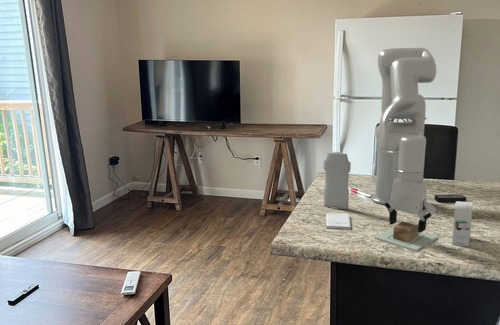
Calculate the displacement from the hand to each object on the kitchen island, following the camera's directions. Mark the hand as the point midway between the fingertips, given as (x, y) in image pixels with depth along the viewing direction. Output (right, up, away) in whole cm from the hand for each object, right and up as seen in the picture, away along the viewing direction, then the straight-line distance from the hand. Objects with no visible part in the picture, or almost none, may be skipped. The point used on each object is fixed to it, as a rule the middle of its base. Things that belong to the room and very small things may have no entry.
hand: (406, 227), depth 142 cm
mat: (0, -4, +1) cm, 4 cm away
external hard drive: (-19, -1, +16) cm, 25 cm away
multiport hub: (+30, +5, +36) cm, 47 cm away
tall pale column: (-17, +3, +31) cm, 35 cm away
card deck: (0, -3, +1) cm, 3 cm away
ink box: (+16, -4, -2) cm, 17 cm away
